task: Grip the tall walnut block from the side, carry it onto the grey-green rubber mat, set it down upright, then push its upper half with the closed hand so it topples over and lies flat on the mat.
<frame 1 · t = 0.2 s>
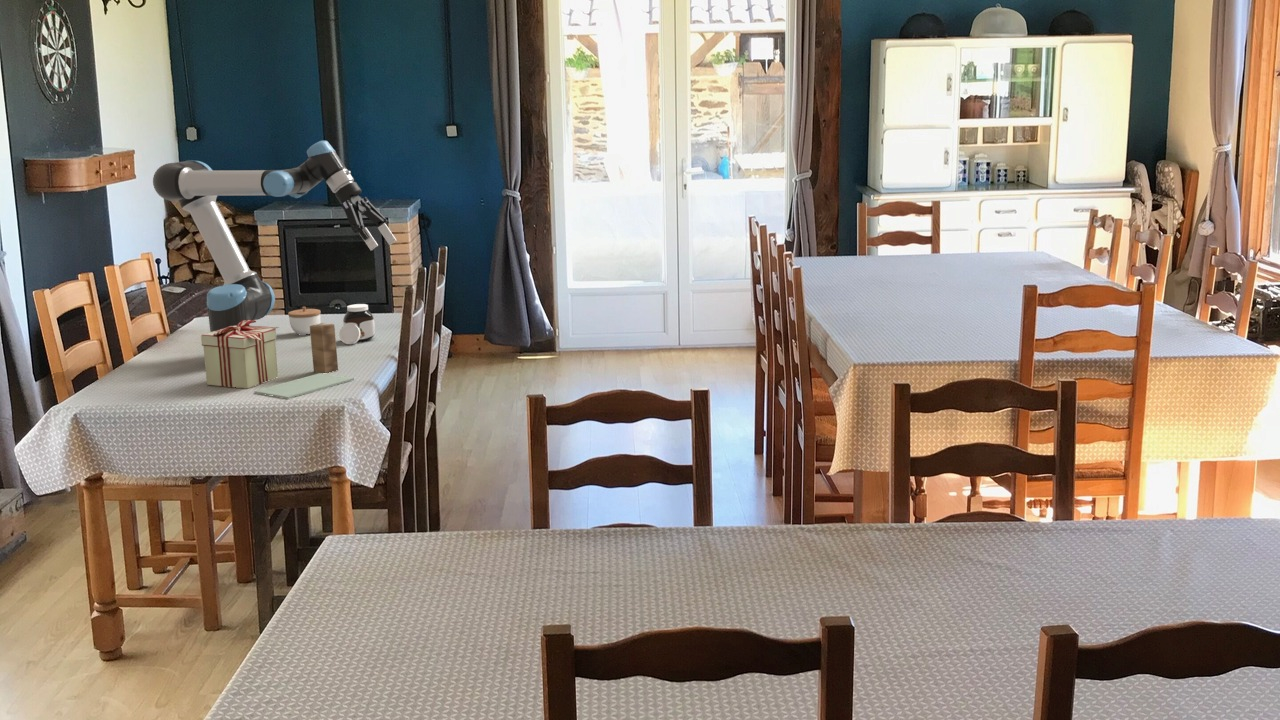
hand: (384, 245, 375), 35 cm above the table, tool tilted 35°, fingers open, 13 cm apart
gift box: (248, 382, 355), on the table
walnut block: (326, 371, 365), on the table
lidded jar: (306, 334, 422), on the table
mat: (305, 386, 346), on the table
spread jar: (357, 342, 406), on the table
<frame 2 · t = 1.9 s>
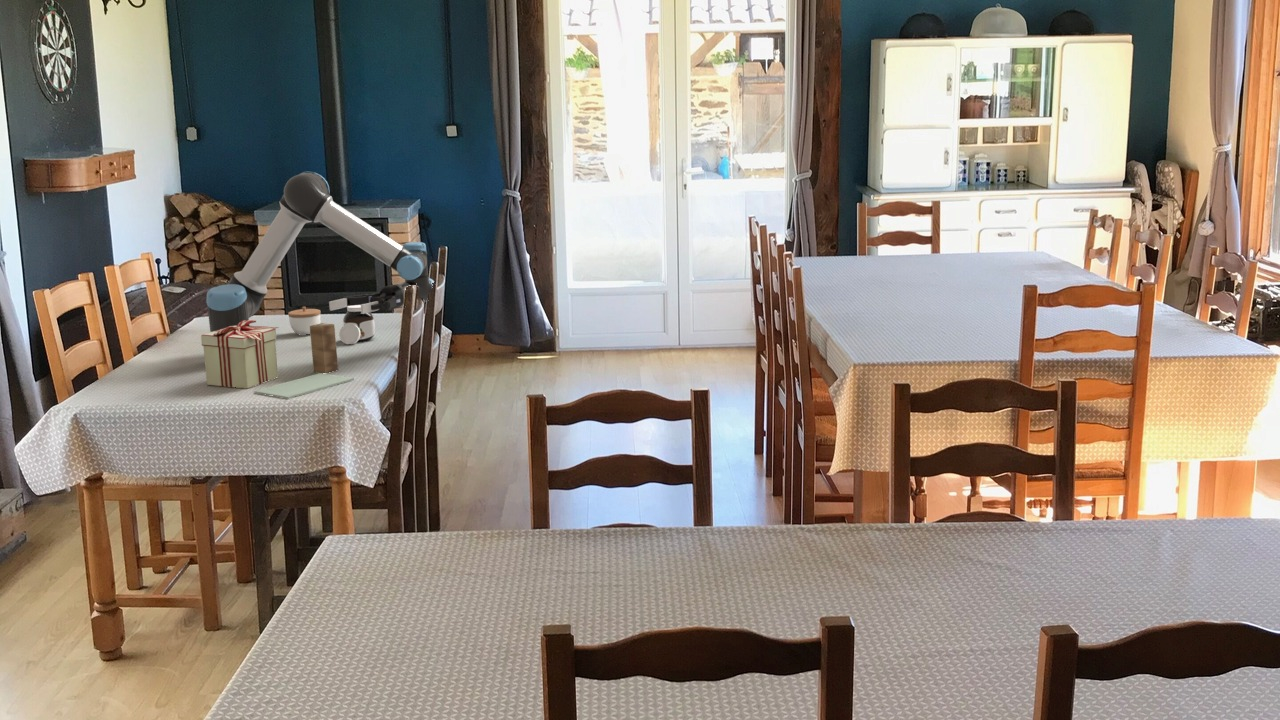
hand: (345, 307, 369), 18 cm above the table, tool horizontal, fingers open, 13 cm apart
nothing on the table moved.
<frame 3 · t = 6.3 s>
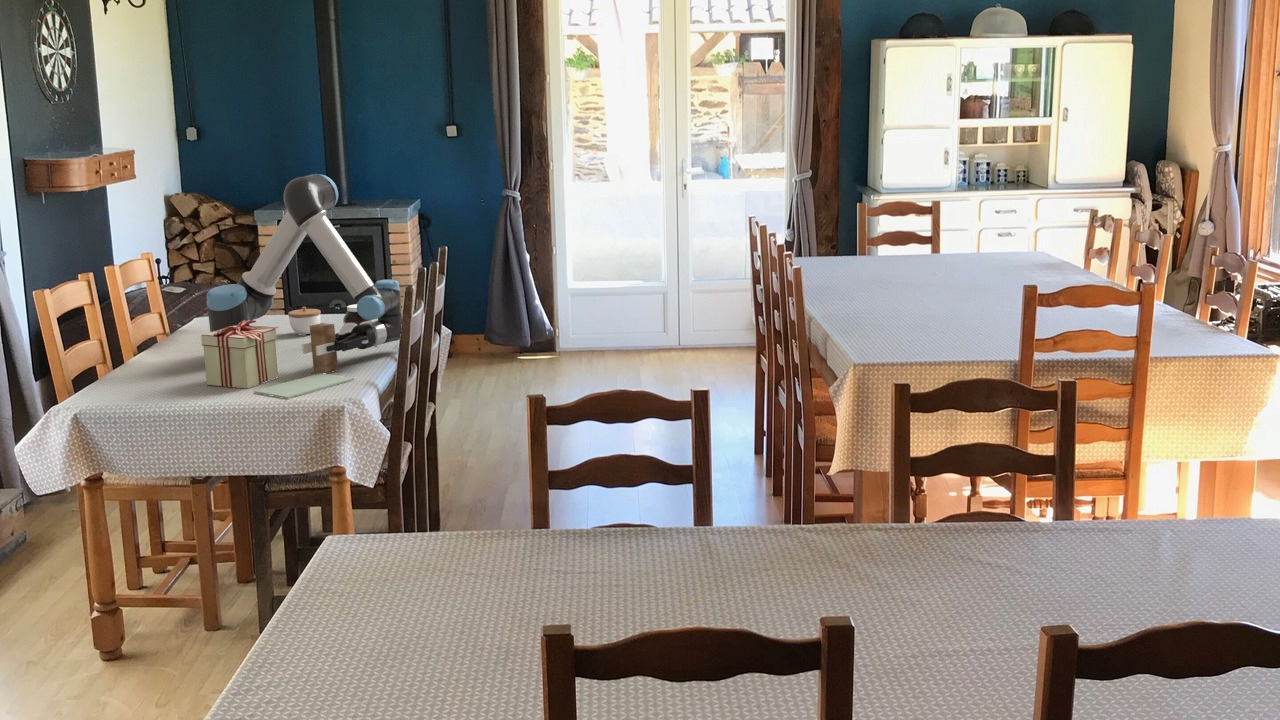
hand: (310, 350, 359), 8 cm above the table, tool horizontal, fingers closed on walnut block, 5 cm apart
walnut block: (326, 371, 365), on the table, touching gripper
everything else where it was.
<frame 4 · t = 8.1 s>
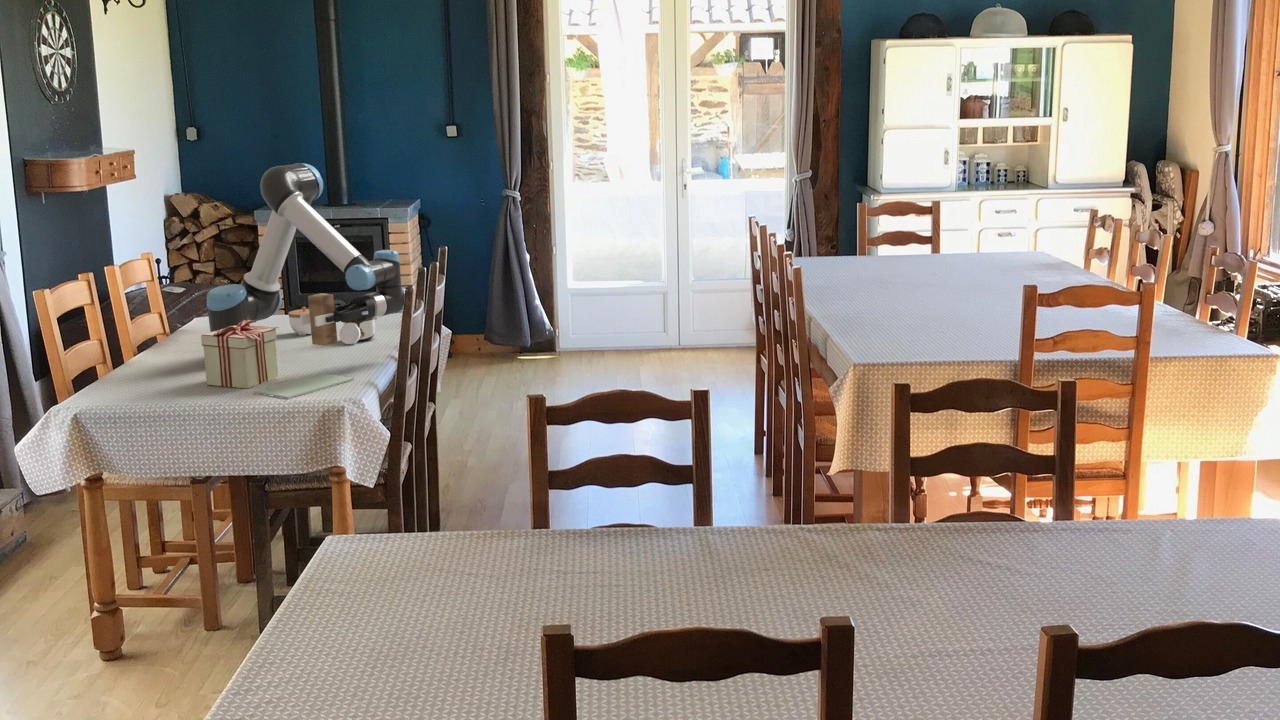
hand: (308, 320, 346), 18 cm above the table, tool horizontal, fingers closed on walnut block, 5 cm apart
walnut block: (324, 343, 352), point 11 cm above the table, touching gripper
everything else where it was.
when the fingers open (9 cm above the table, at t = 10.2 s): walnut block drops 1 cm, resting on mat.
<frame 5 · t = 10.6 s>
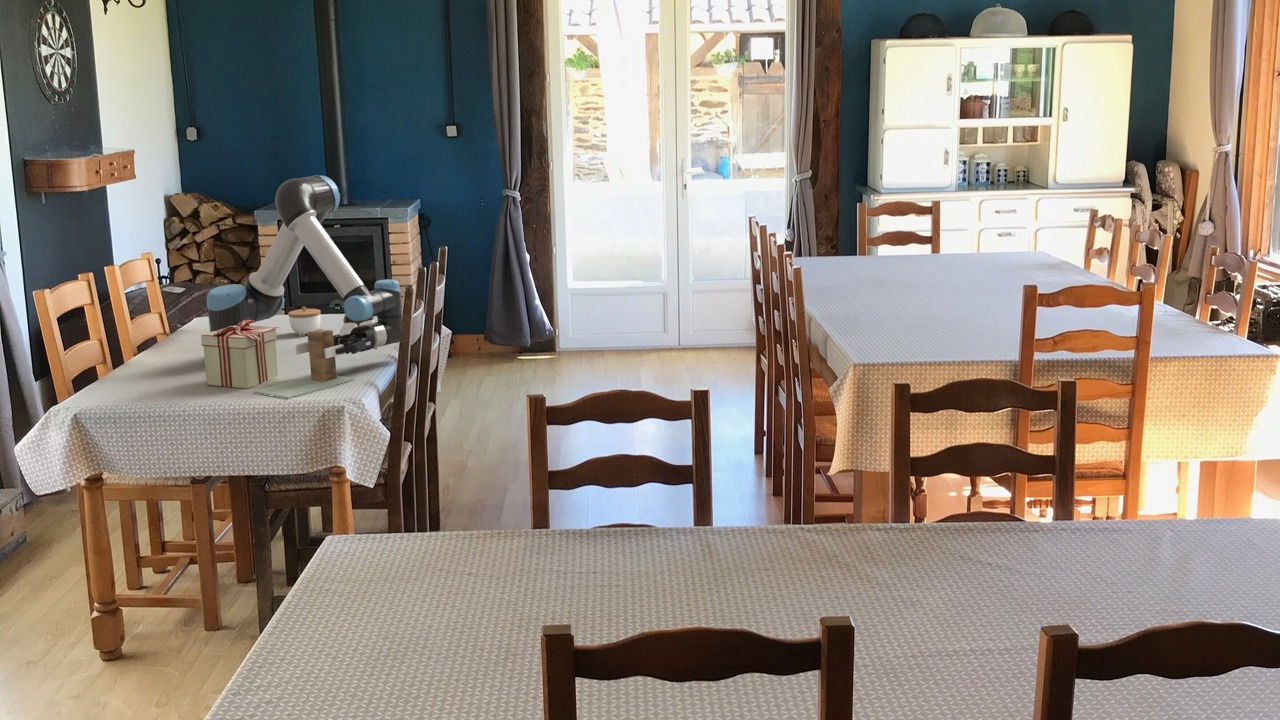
hand: (311, 351, 347), 9 cm above the table, tool horizontal, fingers open, 11 cm apart
walnut block: (324, 379, 352), point 1 cm above the table, touching mat
everything else where it was.
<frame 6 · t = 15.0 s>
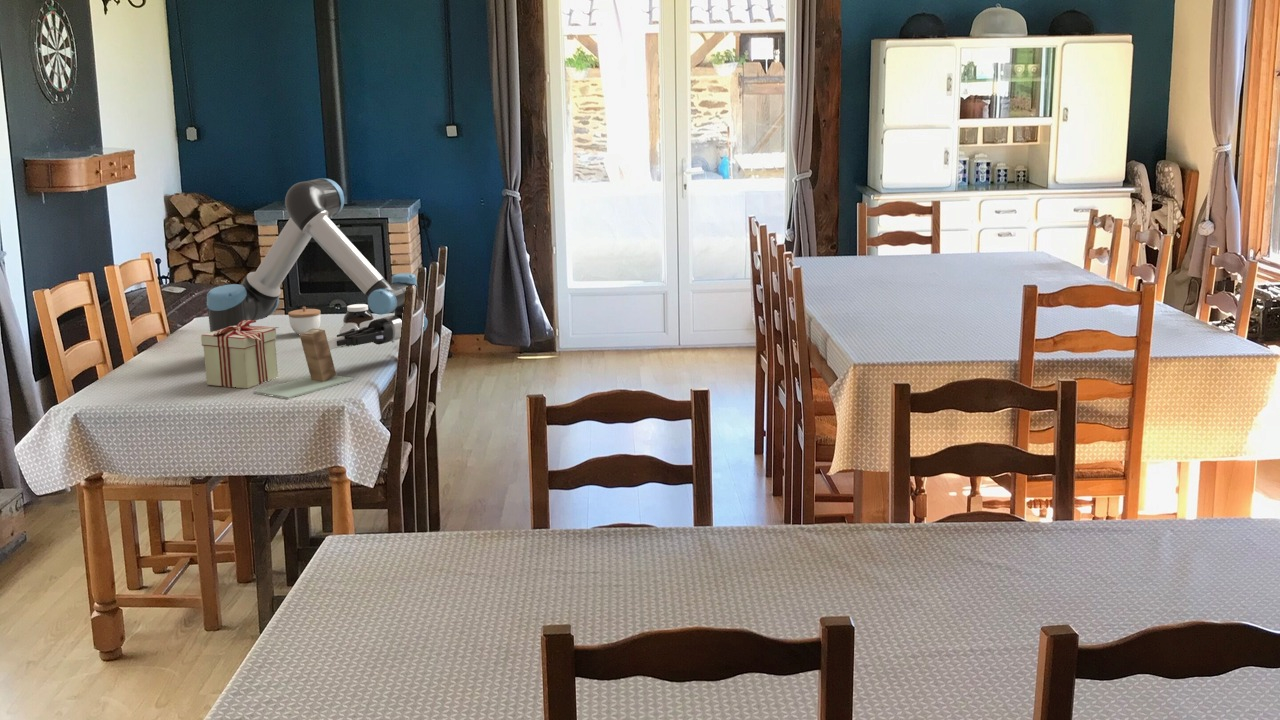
hand: (326, 345, 350), 10 cm above the table, tool horizontal, fingers closed
walnut block: (324, 377, 352), point 1 cm above the table, tilted 12°, touching mat
everything else where it was.
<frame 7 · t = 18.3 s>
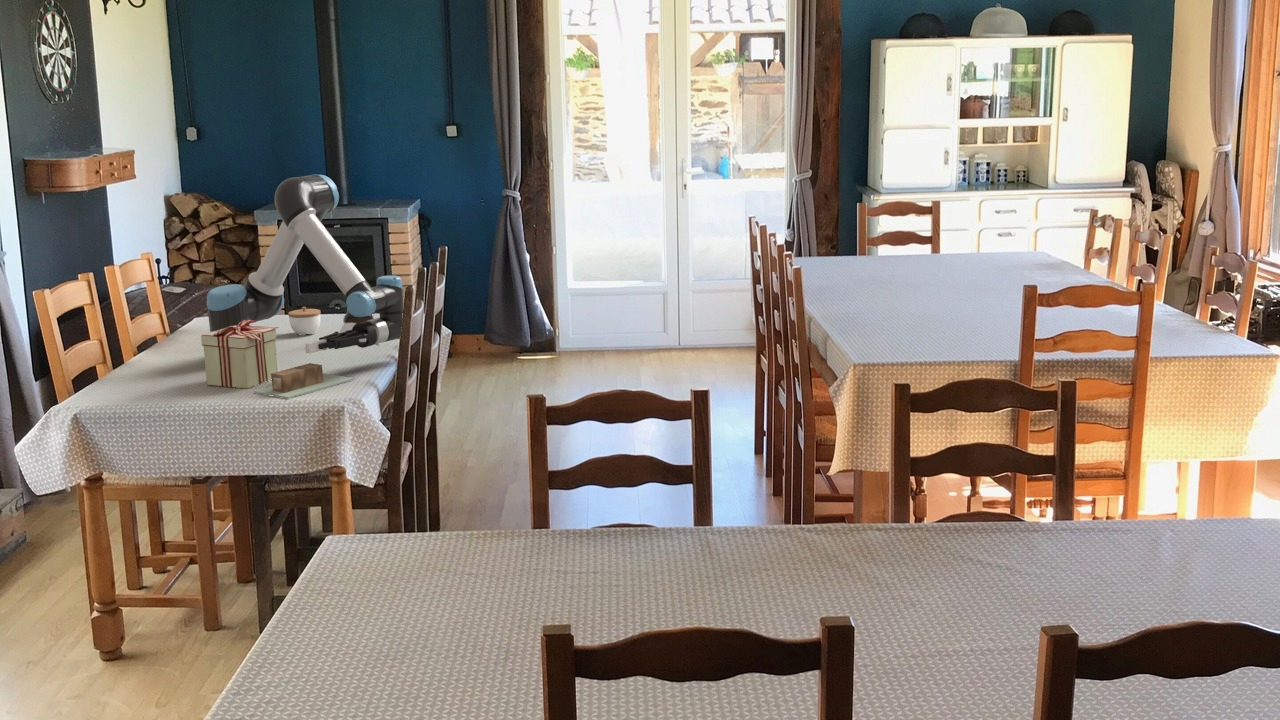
hand: (307, 348, 346), 11 cm above the table, tool horizontal, fingers closed
walnut block: (316, 372, 349), point 3 cm above the table, tilted 90°, touching mat
everything else where it was.
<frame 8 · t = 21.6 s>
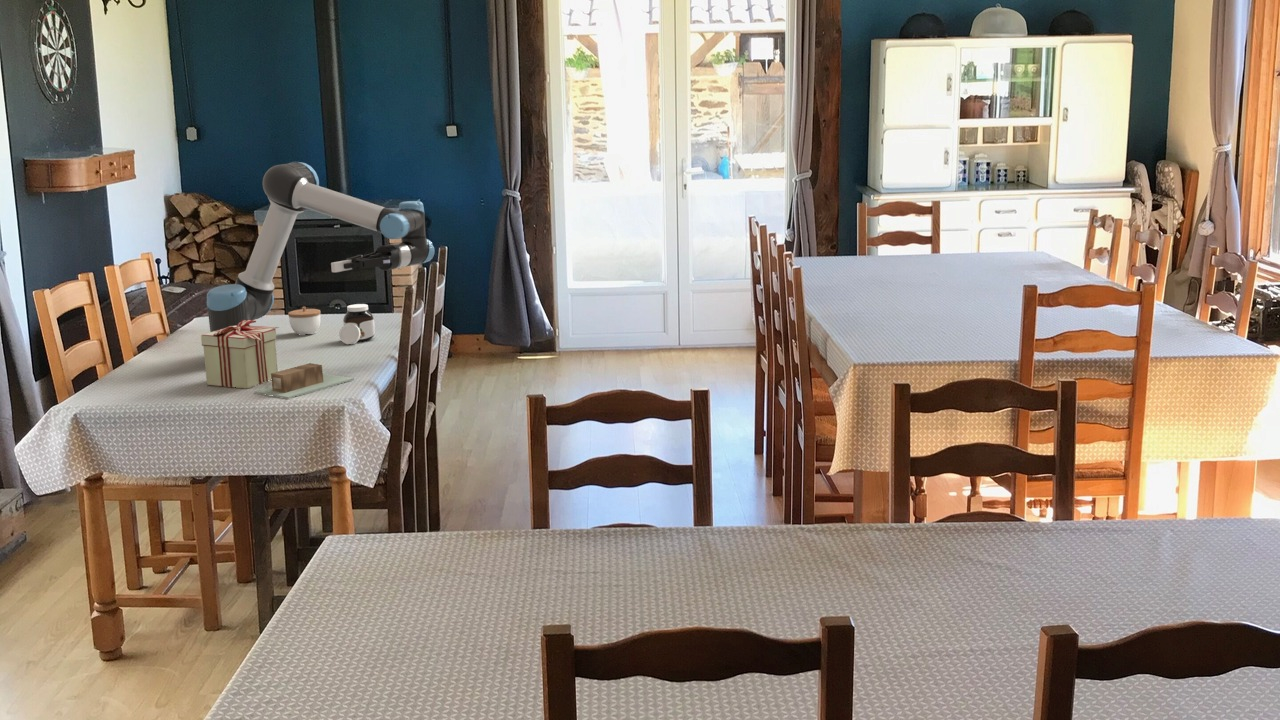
hand: (333, 267, 351), 32 cm above the table, tool horizontal, fingers closed
nothing on the table moved.
at the end: walnut block tilted 90°; walnut block 4.6 cm from the mat (horizontally); the gripper is holding nothing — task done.
